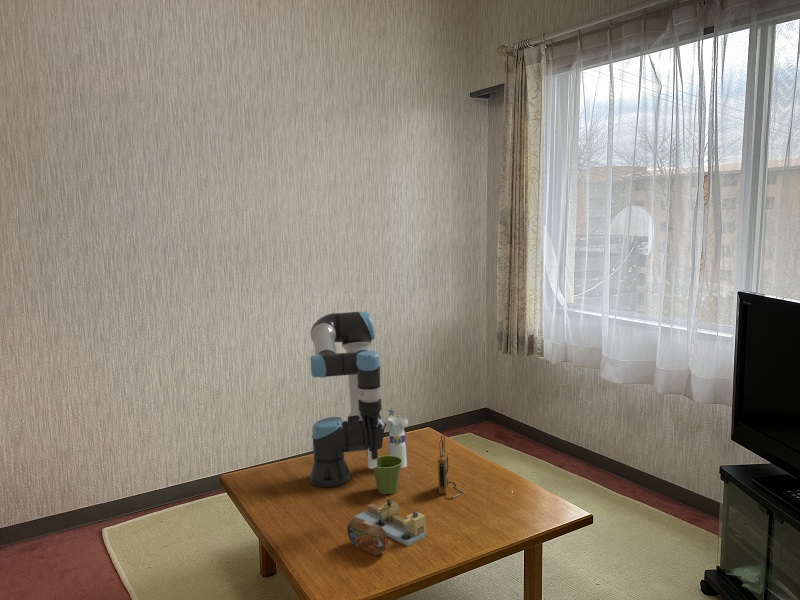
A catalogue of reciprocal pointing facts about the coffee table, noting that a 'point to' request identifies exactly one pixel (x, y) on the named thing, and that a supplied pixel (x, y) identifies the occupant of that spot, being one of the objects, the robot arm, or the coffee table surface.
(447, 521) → the coffee table surface
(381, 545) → the tin
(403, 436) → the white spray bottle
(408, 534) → the linear rail with blocks
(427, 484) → the coffee table surface
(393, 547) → the coffee table surface
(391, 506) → the slider
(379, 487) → the plant pot
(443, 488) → the multimeter
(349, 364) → the robot arm
